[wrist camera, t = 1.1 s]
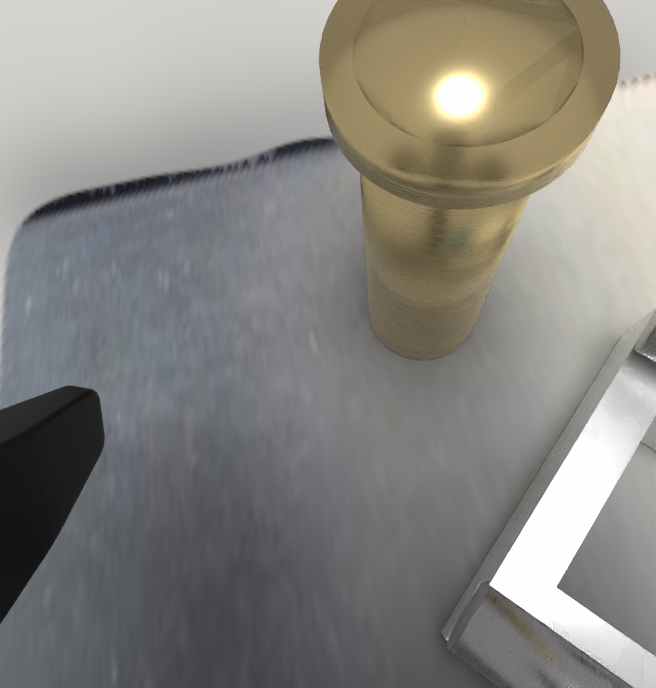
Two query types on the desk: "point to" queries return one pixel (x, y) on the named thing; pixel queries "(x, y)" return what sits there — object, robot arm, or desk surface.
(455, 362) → the desk surface
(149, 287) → the desk surface
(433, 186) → the pin
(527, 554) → the metal roller frame
